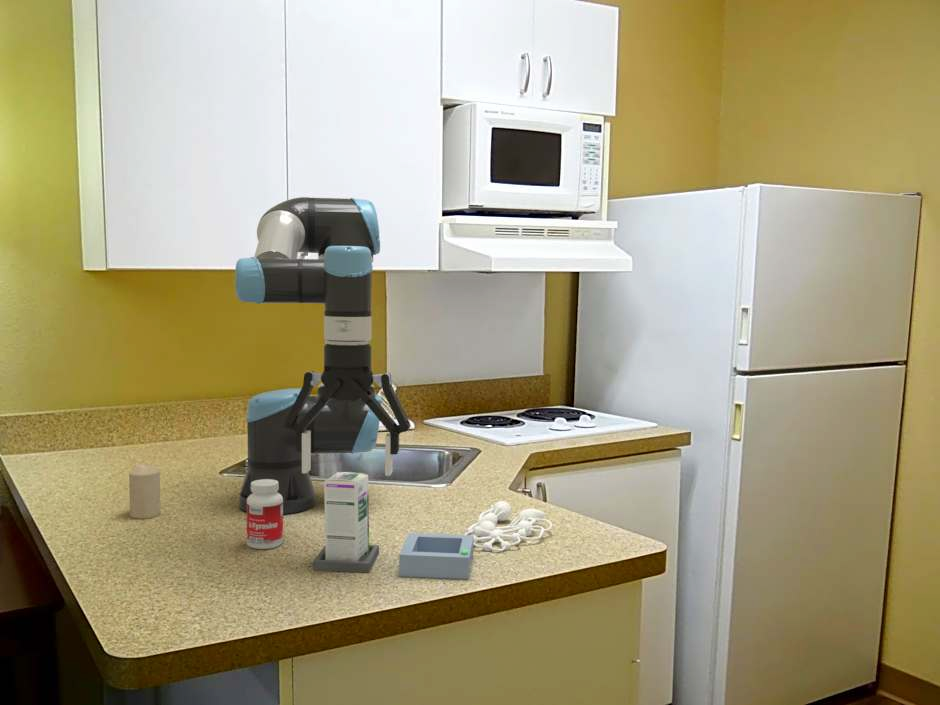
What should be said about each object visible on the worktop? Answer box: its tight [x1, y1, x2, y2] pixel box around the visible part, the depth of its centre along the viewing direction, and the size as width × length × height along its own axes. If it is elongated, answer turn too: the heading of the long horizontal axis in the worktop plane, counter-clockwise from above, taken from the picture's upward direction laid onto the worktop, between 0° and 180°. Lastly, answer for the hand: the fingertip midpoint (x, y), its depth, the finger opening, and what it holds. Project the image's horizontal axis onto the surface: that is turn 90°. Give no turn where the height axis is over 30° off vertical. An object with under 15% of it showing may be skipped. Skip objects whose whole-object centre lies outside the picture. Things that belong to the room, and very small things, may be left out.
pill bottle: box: [246, 479, 284, 550], centre depth 146 cm, size 6×6×11 cm
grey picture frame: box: [312, 544, 380, 574], centre depth 139 cm, size 9×9×2 cm
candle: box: [128, 462, 161, 520], centre depth 162 cm, size 6×6×10 cm
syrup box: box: [323, 471, 370, 562], centre depth 138 cm, size 6×6×14 cm
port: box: [398, 532, 474, 580], centre depth 137 cm, size 11×11×4 cm
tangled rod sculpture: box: [463, 500, 553, 553], centre depth 153 cm, size 19×14×4 cm
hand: (347, 473), depth 137 cm, fingers open, 13 cm apart
